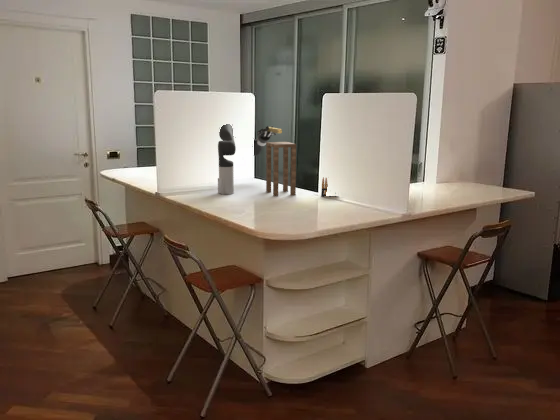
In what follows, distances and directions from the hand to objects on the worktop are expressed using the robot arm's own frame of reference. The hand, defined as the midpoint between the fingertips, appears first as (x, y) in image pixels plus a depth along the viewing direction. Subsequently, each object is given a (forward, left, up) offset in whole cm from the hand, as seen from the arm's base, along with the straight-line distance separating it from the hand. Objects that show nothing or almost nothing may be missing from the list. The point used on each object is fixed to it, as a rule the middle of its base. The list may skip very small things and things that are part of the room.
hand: (270, 127), depth 342 cm
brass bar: (-1, -6, -3) cm, 7 cm away
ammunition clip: (+18, -43, -41) cm, 62 cm away
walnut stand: (-4, -20, -41) cm, 45 cm away
